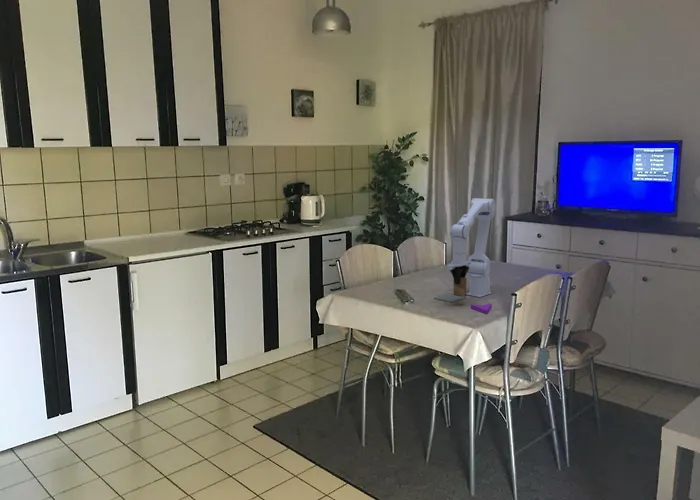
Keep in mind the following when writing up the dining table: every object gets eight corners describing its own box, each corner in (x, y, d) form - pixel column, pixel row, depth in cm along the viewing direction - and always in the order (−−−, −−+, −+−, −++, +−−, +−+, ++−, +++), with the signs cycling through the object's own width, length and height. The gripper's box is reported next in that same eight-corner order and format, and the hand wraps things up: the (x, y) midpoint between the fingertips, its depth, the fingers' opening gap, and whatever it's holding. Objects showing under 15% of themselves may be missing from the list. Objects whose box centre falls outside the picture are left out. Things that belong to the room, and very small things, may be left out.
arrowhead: (478, 301, 252) (499, 305, 246) (478, 304, 253) (499, 308, 246) (465, 306, 245) (487, 310, 238) (465, 309, 246) (486, 314, 239)
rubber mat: (447, 294, 271) (447, 293, 271) (465, 298, 263) (465, 297, 263) (433, 298, 264) (433, 297, 264) (451, 302, 257) (451, 301, 257)
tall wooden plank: (456, 293, 256) (457, 276, 254) (466, 295, 252) (466, 277, 251) (453, 294, 254) (453, 277, 253) (463, 297, 251) (463, 278, 249)
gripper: (462, 248, 258) (461, 278, 260) (441, 253, 248) (441, 284, 251) (475, 250, 253) (475, 281, 255) (454, 255, 243) (454, 287, 246)
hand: (459, 283), depth 253 cm, fingers closed on tall wooden plank, 2 cm apart
